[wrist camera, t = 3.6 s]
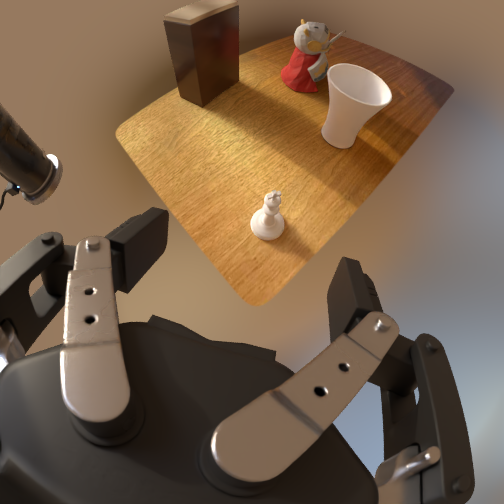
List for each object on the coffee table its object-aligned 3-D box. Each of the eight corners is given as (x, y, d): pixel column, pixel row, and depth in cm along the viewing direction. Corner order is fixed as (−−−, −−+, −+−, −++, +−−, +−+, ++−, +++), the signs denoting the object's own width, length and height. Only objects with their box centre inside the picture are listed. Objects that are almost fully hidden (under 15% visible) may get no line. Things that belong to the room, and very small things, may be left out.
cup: (300, 137, 44) (316, 80, 31) (324, 108, 47) (341, 56, 34) (352, 167, 43) (382, 116, 30) (370, 134, 45) (398, 87, 32)
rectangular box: (202, 107, 46) (189, 20, 27) (180, 96, 47) (162, 16, 28) (239, 81, 48) (239, 0, 29) (216, 71, 49) (210, -4, 30)
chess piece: (289, 233, 39) (303, 203, 30) (258, 245, 39) (262, 217, 29) (276, 204, 41) (284, 168, 31) (245, 215, 40) (245, 180, 30)
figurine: (328, 101, 48) (347, 44, 33) (274, 86, 48) (281, 28, 34) (333, 70, 51) (348, 22, 37) (287, 58, 52) (294, 8, 37)
